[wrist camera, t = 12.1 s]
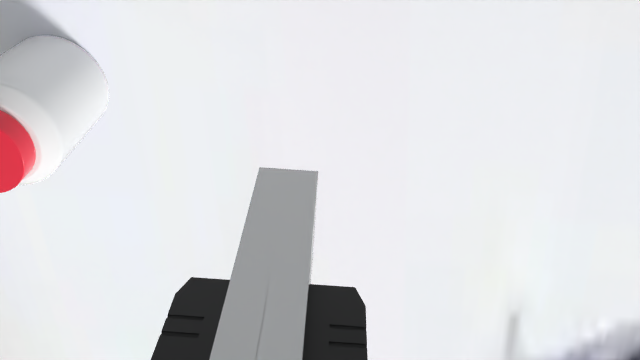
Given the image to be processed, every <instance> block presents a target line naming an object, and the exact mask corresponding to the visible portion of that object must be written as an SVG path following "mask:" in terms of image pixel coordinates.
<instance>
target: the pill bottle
mask: <svg viewBox="0 0 640 360" xmlns="http://www.w3.org/2000/svg"><path fill="white" fill-rule="evenodd" d="M108 103H109V87H108V82H107V79H106V77H105V74H104V72H103V71H102V69H101V67H100V66H99V64H98V63H97V62H96V61H95V59H94V58H93V57H92V56H91V55H90V54H89V53H88V52H86V51H85V50H84V49H83V48H81V47H80V46H78V45H76V44H75V43H73V42H71V41H69V40H66V39H64V38H61V37H56V36H52V35H39V36H33V37H30V38H27V39H25V40H23V41H21V42H20V43H18V44H17V45H15V46H14V47H12V48H11V49H9V50H8V51H6V52H4V53H3V54H1V55H0V193H2V192H6V191H9V190H11V189H13V188H15V187H16V186H17V185H29V184H34V183H37V182H40V181H43V180H44V179H46V178H48V177H49V176H51V175H52V174H53V173H54V172H55V171H56V170H57V168H58V167H59V166H60V165H61V164H62V163H63V162H64V160H65V159H66V158H67V157H68V156H69V155H70V153H71V152H72V151H73V150H74V149H75V147H76V146H77V145H78V144H79V143H80V142H81V140H82V139H83V138H84V137H85V136H86V135H87V133H88V132H89V131H90V130H91V129H92V128H93V126H94V125H95V124H96V123H97V122H98V121H99V119H100V118H101V117H102V116H103V115H104V113H105V111H106V109H107V107H108Z"/></svg>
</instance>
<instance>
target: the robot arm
mask: <svg viewBox="0 0 640 360" xmlns="http://www.w3.org/2000/svg"><path fill="white" fill-rule="evenodd" d="M317 181H318V171H304V170H290V169H275V168H261V167H260V168H259V172H258V175H257V179H256V183H255V187H254V191H253V195H252V198H251V202H250V206H249V210H248V214H247V217H246V221H245V225H244V229H243V233H242V237H241V240H240V244H239V248H238V252H237V256H236V260H235V263H234V267H233V271H232V275H231V279H230V280H222V279H208V278H194V277H191V278H190V279H189V280H188V281H187V282H186V284H185V285H184V286H183V287H182V288H181V289H180V290H179V291H178V292H177V293H176V294H175V296H174V299H173V302H172V304H171V307H170V310H169V312H168V318H166V321H165V323H164V326H163V329H162V334H161V335H160V337H159V339H158V342H157V345H156V347H155V350H154V353H153V356H152V358H151V360H367V336H366V308H365V304H364V303H363V301H362V299H361V297H360V295H359V294H358V292H357V290H356V288H355V287H341V286H327V285H313V284H311V272H312V260H313V246H314V229H315V213H316V197H317Z"/></svg>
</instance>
